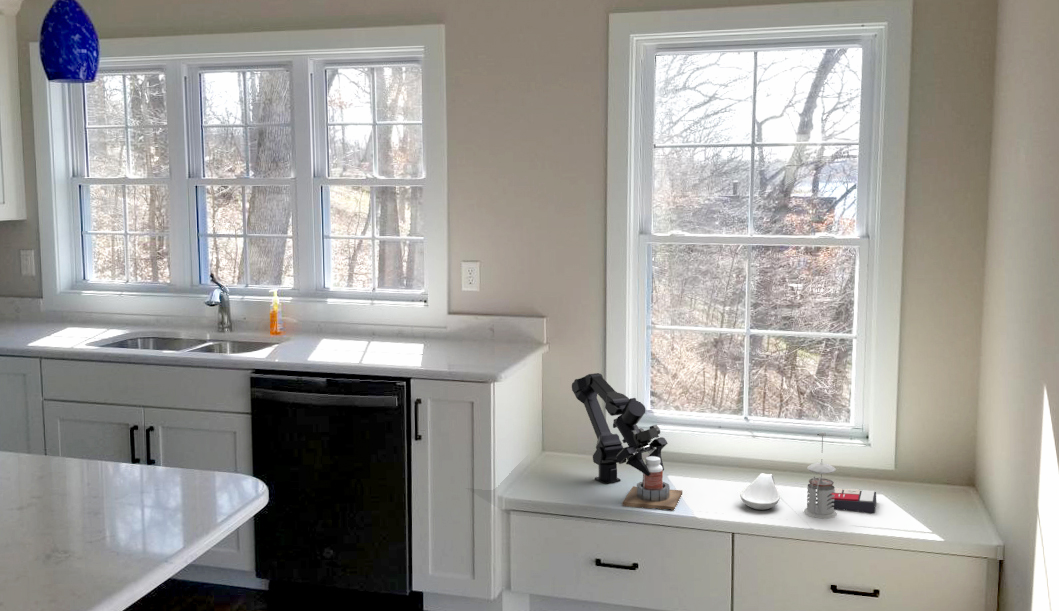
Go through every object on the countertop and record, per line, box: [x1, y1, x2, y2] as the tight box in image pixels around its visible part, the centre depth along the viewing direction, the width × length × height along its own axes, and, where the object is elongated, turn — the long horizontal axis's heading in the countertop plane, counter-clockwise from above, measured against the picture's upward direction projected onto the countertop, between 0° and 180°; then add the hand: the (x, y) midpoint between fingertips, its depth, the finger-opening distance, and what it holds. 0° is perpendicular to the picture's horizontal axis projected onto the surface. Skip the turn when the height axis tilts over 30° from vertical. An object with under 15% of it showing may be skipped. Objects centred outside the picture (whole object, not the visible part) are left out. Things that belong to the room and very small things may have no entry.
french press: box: [803, 431, 838, 519], centre depth 291 cm, size 10×12×25 cm
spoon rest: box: [740, 472, 781, 511], centre depth 304 cm, size 24×12×7 cm, turn 159°
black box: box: [831, 487, 877, 514], centre depth 300 cm, size 11×4×15 cm
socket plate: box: [622, 485, 683, 511], centre depth 307 cm, size 16×16×1 cm
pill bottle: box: [642, 456, 664, 489], centre depth 306 cm, size 6×6×11 cm
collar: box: [636, 480, 671, 502], centre depth 306 cm, size 10×10×4 cm
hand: (656, 473), depth 305 cm, fingers closed on pill bottle, 6 cm apart
